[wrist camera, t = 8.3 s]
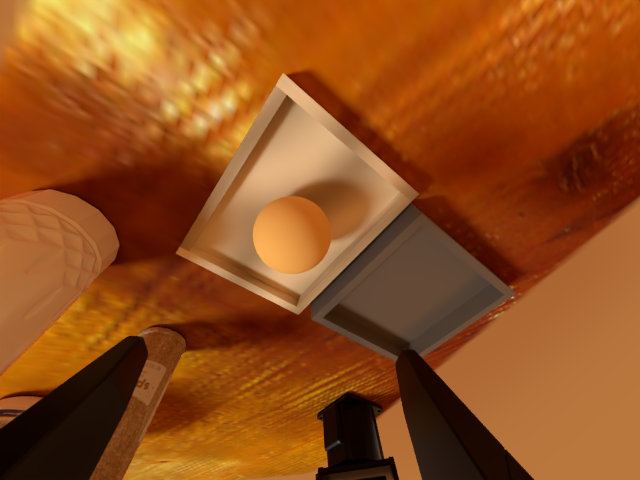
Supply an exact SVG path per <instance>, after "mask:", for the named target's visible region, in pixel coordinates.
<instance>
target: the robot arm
mask: <svg viewBox="0 0 640 480" xmlns="http://www.w3.org/2000/svg"><path fill="white" fill-rule="evenodd" d="M147 358H148V350H147V346H146V343H145V340H144V338H143V337H142V336H129V337H126V338H125V339H123V340H122V341H121V342H119V343H118V344H117V345H115V346H114V347H112V348H111V349H110V350H108V351H107V352H105V353H104V354H103V355H101V356H100V357H99V358H97V359H96V360H94V361H93V362H92V363H90V364H89V365H87V366H86V367H85V368H83V369H82V370H81V371H79V372H78V373H76V374H75V375H74V376H72V377H71V378H69V379H68V380H67V381H65V382H64V383H63V384H61V385H60V386H58V387H57V388H56V389H54V390H53V391H51V392H50V393H49V394H47V395H46V396H45V397H43V398H42V399H40V400H39V401H38V402H36V403H35V404H33V405H32V406H31V407H29V408H28V409H27V410H25V411H24V412H22V413H21V414H20V415H18V416H17V417H15V418H14V419H13V420H11V421H10V422H9V423H7V424H6V425H4V426H3V427H2V428H0V480H89V479H90V478H91V476H92V474H93V472H94V470H95V468H96V466H97V464H98V462H99V460H100V459H101V457H102V455H103V453H104V451H105V449H106V447H107V445H108V443H109V441H110V440H111V438H112V436H113V434H114V432H115V430H116V428H117V426H118V424H119V422H120V421H121V419H122V417H123V415H124V413H125V411H126V409H127V406H128V404H129V402H130V400H131V397H132V395H133V392H134V390H135V387H136V385H137V382H138V380H139V378H140V375H141V373H142V370H143V368H144V365H145V363H146V361H147ZM396 372H397V378H398V384H399V389H400V395H401V401H402V406H403V411H404V415H405V419H406V423H407V426H408V430H409V433H410V437H411V441H412V444H413V448H414V452H415V455H416V459H417V462H418V466H419V470H420V473H421V477H422V480H534V479H533V478H532V477H531V476H530V475H529V474H528V472H527V471H526V470H525V469H524V468H523V467H522V466H521V465H520V464H519V463H518V462H517V461H516V460H515V459H514V457H513V456H512V455H511V454H510V453H509V452H508V451H507V450H505V449H504V447H503V446H502V445H501V443H500V442H499V441H498V440H497V439H496V438H495V437H494V436H493V435H492V434H491V433H490V432H489V430H488V429H487V428H486V427H485V426H484V425H483V424H482V423H481V422H480V421H479V420H478V418H477V417H476V416H475V415H474V414H473V413H472V412H471V411H470V410H469V409H468V407H467V406H466V405H465V404H464V403H463V402H462V401H461V400H460V399H459V398H458V397H457V396H456V395H455V393H454V392H453V391H452V390H451V389H450V388H449V387H448V386H447V385H446V384H445V383H444V381H443V380H442V379H441V378H440V377H439V376H438V375H437V374H436V373H435V372H434V370H433V369H432V368H431V367H430V366H429V365H428V364H427V363H426V362H425V361H424V360H423V359H422V357H421V356H420V355H419V354H418V353H417V352H416V351H415V350H413V349H402V350H401V352H400V354H399V356H398V359H397V361H396ZM381 412H383V409H382V406H379V405H377V404H374V403H372V402H369V401H367V400H364V399H362V398H359V397H357V396H354V395H352V394H345V395H344V396H342V397H341V398H339V399H338V400H337V401H335V402H334V403H332V404H331V405H330V406H328V407H327V408H325V409H324V410H323V411H321V412H320V413H318V414H317V419H319V420H321V421H323V427H324V445H325V451H327V457H328V467H327V468H323V467H320V468H318V474H316V480H399V477H398V474H397V470H396V466H395V462H394V458H393V457H389V458H387V459H384V456H383V451H382V446H381V442H380V437H379V433H378V429H377V423H376V419H375V416H377V415H378V414H380V413H381Z"/></svg>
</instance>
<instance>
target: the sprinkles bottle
mask: <svg viewBox="0 0 640 480" xmlns="http://www.w3.org/2000/svg"><path fill="white" fill-rule="evenodd" d="M138 336H142V337H143V338H144V340H145V343H146V346H147V350H148V358H147V361H146V363H145V365H144V368H143V370H142V373H141V375H140V378H139V380H138V382H137V385H136V387H135V390H134V392H133V395H132V397H131V400H130V402H129V404H128V406H127V409H126V411H125V413H124V415H123V417H122V419H121V421H120V422H119V424H118V426H117V428H116V430H115V432H114V434H113V436H112V438H111V440H110V441H109V443H108V445H107V447H106V449H105V451H104V453H103V455H102V457H101V459H100V460H99V462H98V464H97V466H96V468H95V470H94V472H93V474H92V476H91V478H90V479H89V480H122V479H123V477H124V475H125V473H126V471H127V469H128V467H129V465H130V463H131V461H132V458H133V456H134V454H135V452H136V450H137V448H138V447H139V446H140V444H141V442H142V440H143V438H144V436H145V433H146V431H147V429H148V427H149V425H150V423H151V421H152V419H153V417H154V414H155V412H156V410H157V408H158V406H159V404H160V402H161V399H162V397H163V395H164V393H165V391H166V389H167V387H168V385H169V382H170V380H171V378H172V374H173V371H174V369H175V367H176V365H177V363H178V361H179V359H180V357H181V355H182V354H183V353H184V351H185V349H186V342H185V339H184V338H183V337H182V336H181V335H179V334H178V333H177V332H175V331H173V330H171V329H168V328H160V327H155V328H154V327H152V328H148V329H146V330H144V331H142V332H141V333H140V334H139V335H138Z"/></svg>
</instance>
